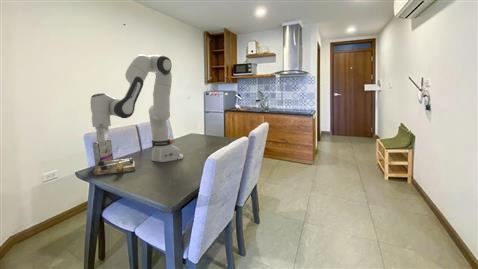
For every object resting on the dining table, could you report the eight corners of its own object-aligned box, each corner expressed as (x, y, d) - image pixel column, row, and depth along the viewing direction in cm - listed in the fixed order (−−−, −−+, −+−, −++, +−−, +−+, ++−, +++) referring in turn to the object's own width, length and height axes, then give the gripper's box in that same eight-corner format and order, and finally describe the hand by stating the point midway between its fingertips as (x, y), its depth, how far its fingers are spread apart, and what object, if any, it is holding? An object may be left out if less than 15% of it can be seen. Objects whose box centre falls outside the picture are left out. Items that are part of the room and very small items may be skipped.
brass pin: (123, 172, 144) (122, 161, 142) (123, 174, 141) (122, 163, 139) (117, 173, 142) (116, 162, 141) (117, 174, 139) (116, 163, 138)
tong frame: (133, 161, 156) (132, 157, 156) (133, 163, 153) (132, 158, 153) (98, 165, 148) (98, 160, 148) (98, 166, 145) (97, 162, 145)
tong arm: (129, 162, 153) (128, 159, 152) (130, 163, 151) (130, 160, 151) (100, 169, 140) (100, 166, 139) (101, 170, 139) (101, 166, 138)
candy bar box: (107, 161, 163) (104, 138, 159) (113, 162, 162) (111, 139, 158) (94, 167, 152) (91, 142, 149) (101, 167, 151) (98, 143, 148)
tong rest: (134, 164, 159) (134, 160, 158) (135, 170, 147) (134, 166, 147) (97, 168, 150) (96, 164, 150) (94, 175, 138) (93, 171, 138)
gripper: (106, 125, 123) (108, 151, 126) (109, 120, 141) (111, 142, 144) (92, 126, 120) (94, 152, 123) (97, 120, 139) (99, 143, 141)
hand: (103, 147), depth 134 cm, fingers open, 7 cm apart
